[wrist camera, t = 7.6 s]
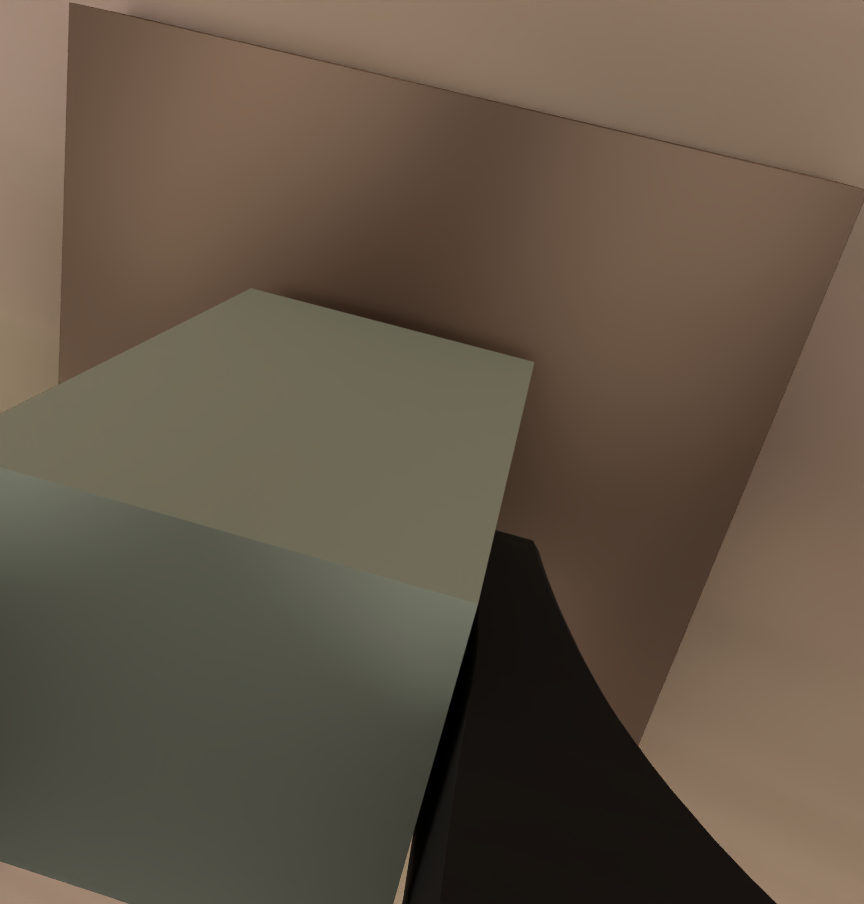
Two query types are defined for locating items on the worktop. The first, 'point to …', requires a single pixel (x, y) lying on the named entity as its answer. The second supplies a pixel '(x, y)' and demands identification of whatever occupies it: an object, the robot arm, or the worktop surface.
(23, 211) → the worktop surface
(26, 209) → the worktop surface
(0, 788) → the block
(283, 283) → the base
